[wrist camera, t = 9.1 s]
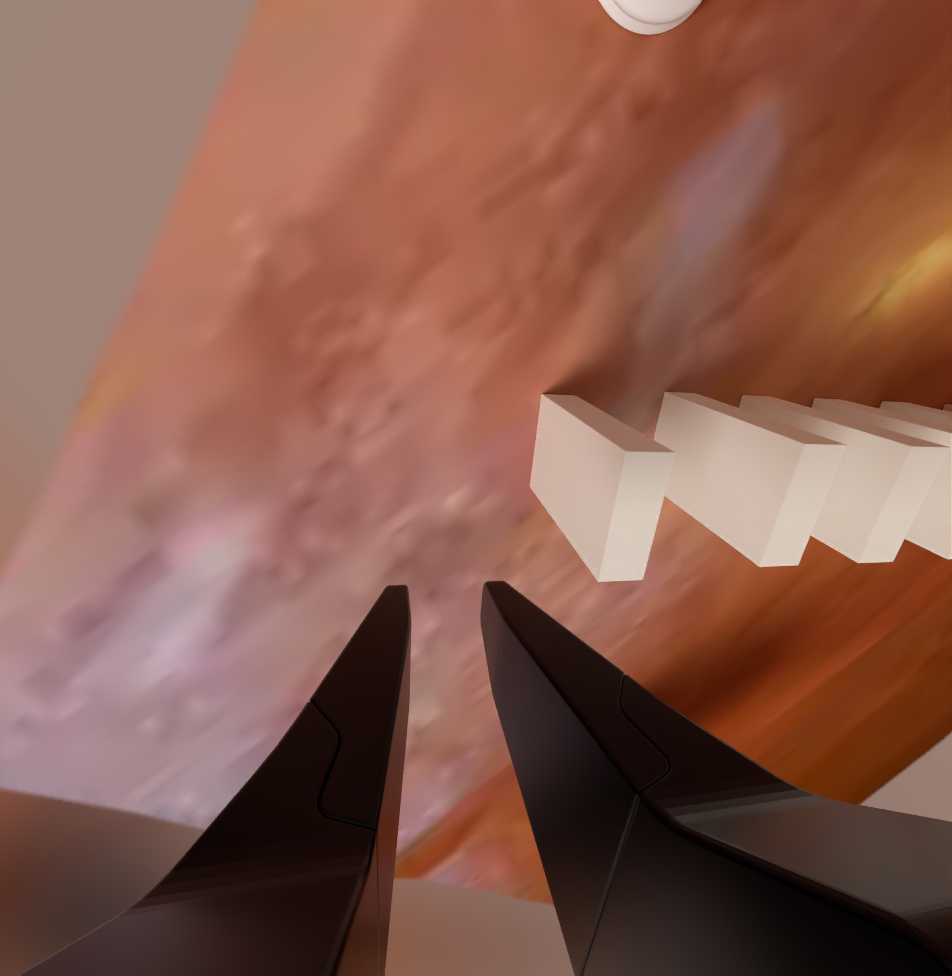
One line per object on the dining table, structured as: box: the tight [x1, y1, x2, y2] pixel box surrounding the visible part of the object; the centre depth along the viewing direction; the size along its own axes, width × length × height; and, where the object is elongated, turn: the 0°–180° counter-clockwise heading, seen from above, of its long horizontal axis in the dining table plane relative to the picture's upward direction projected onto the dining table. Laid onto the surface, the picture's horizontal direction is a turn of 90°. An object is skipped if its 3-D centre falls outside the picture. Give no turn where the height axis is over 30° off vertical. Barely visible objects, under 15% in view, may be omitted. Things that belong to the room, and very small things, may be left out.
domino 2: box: [653, 392, 847, 567], centre depth 19 cm, size 4×2×8 cm, turn 176°
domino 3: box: [739, 395, 950, 563], centre depth 20 cm, size 4×2×8 cm, turn 176°
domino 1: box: [530, 394, 675, 582], centre depth 18 cm, size 4×2×8 cm, turn 176°
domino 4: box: [811, 398, 952, 559], centre depth 21 cm, size 4×2×8 cm, turn 176°
